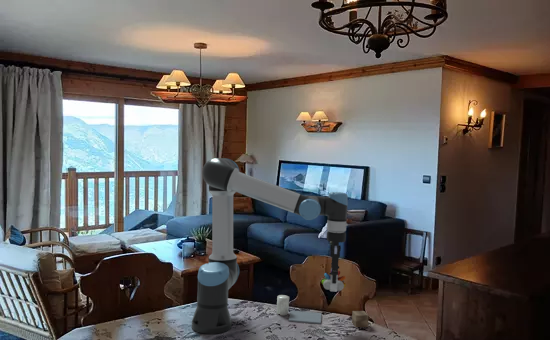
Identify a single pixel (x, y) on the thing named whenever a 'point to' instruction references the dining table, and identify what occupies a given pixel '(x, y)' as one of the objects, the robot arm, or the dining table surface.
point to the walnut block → (360, 318)
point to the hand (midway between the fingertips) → (333, 287)
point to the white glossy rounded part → (282, 304)
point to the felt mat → (305, 317)
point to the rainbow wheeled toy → (327, 281)
